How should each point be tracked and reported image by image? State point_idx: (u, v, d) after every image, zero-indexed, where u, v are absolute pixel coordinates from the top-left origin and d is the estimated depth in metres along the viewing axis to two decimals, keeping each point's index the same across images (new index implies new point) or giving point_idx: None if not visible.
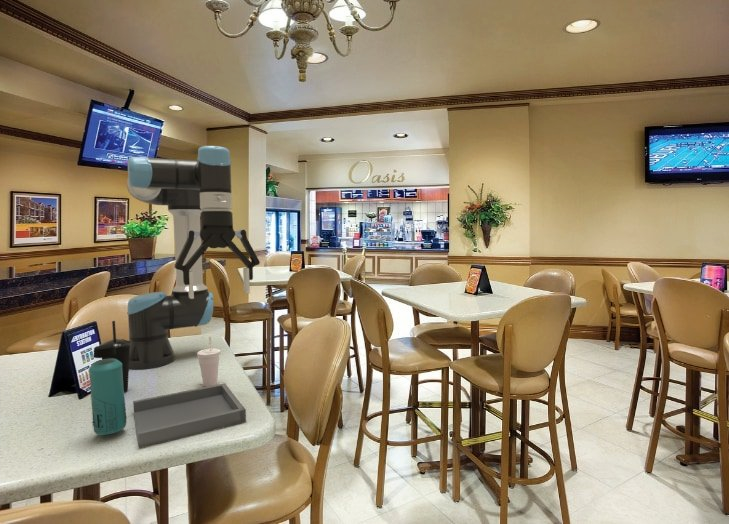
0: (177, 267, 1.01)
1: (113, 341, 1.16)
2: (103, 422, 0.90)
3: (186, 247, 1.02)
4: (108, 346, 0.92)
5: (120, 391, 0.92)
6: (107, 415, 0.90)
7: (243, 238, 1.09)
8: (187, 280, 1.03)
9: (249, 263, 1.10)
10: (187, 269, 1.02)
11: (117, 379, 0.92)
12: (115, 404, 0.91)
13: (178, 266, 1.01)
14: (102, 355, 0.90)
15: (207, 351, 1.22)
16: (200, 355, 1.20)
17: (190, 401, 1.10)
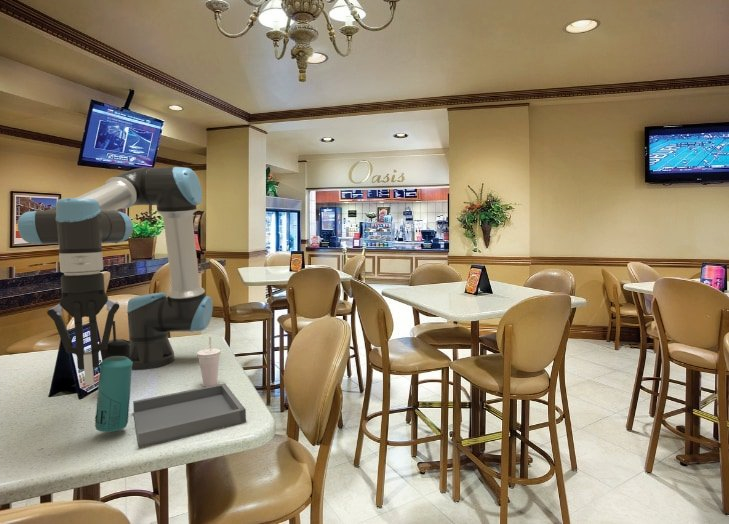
0: (68, 351, 0.88)
1: (113, 341, 1.16)
2: (106, 419, 0.90)
3: (59, 328, 0.87)
4: (122, 343, 0.93)
5: (127, 390, 0.93)
6: (111, 412, 0.91)
7: (110, 312, 0.91)
8: (81, 364, 0.89)
9: (95, 347, 0.90)
10: (80, 352, 0.89)
11: (126, 378, 0.92)
12: (120, 402, 0.92)
13: (68, 350, 0.88)
14: (115, 352, 0.91)
15: (207, 351, 1.22)
16: (200, 355, 1.20)
17: (190, 401, 1.10)
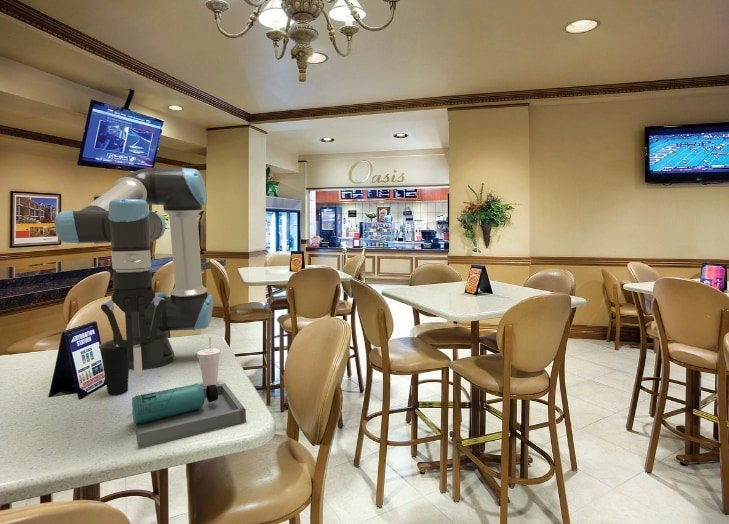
0: (120, 344, 0.92)
1: (113, 341, 1.16)
2: (148, 401, 0.96)
3: (111, 323, 0.91)
4: (217, 395, 1.06)
5: (175, 411, 0.99)
6: (155, 404, 0.97)
7: (157, 307, 0.96)
8: (131, 357, 0.94)
9: (143, 340, 0.95)
10: (131, 345, 0.93)
11: (188, 406, 1.01)
12: (164, 409, 0.98)
13: (120, 343, 0.92)
14: (211, 391, 1.05)
15: (207, 351, 1.22)
16: (200, 355, 1.20)
17: None
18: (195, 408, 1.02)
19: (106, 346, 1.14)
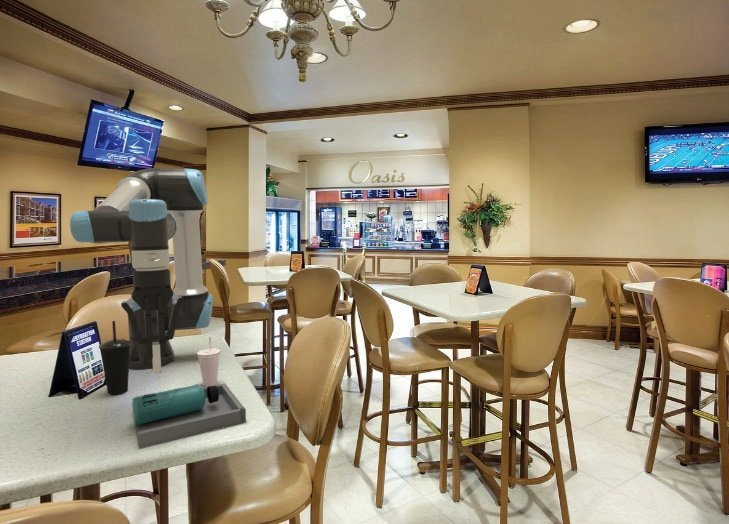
0: (139, 342, 0.94)
1: (113, 341, 1.16)
2: (149, 406, 0.95)
3: (131, 320, 0.93)
4: None
5: (176, 414, 0.99)
6: (156, 408, 0.96)
7: (176, 305, 0.98)
8: (150, 354, 0.96)
9: (162, 338, 0.97)
10: (150, 342, 0.95)
11: (189, 409, 1.00)
12: (165, 413, 0.97)
13: (139, 340, 0.94)
14: (212, 394, 1.04)
15: (207, 351, 1.22)
16: (200, 355, 1.20)
17: None
18: (195, 410, 1.02)
19: (106, 346, 1.14)
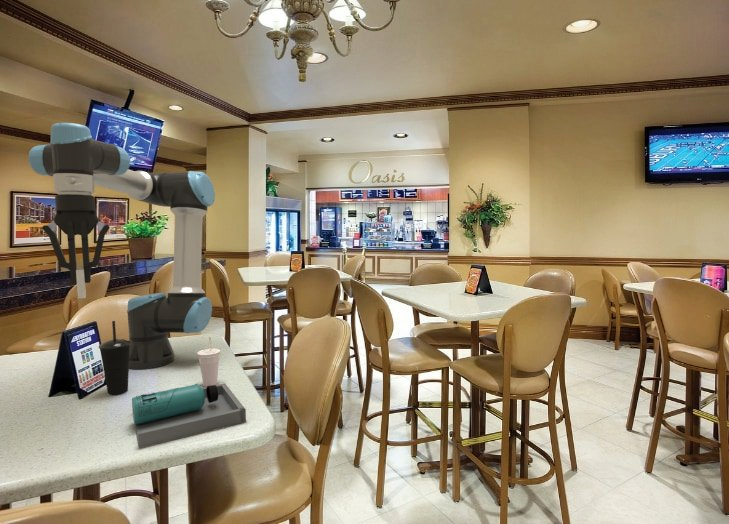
0: (62, 265, 0.95)
1: (113, 341, 1.16)
2: (148, 403, 0.96)
3: (53, 243, 0.94)
4: None
5: (176, 412, 0.99)
6: (155, 405, 0.96)
7: (101, 232, 0.99)
8: (74, 279, 0.97)
9: (86, 263, 0.98)
10: (73, 266, 0.96)
11: (189, 408, 1.01)
12: (164, 410, 0.98)
13: (62, 264, 0.95)
14: (211, 392, 1.04)
15: (207, 351, 1.22)
16: (200, 355, 1.20)
17: None
18: (195, 409, 1.02)
19: (106, 346, 1.14)
